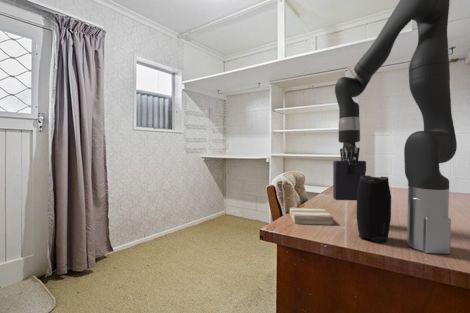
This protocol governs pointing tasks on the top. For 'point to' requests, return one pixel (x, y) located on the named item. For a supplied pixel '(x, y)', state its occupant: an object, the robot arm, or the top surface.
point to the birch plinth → (311, 216)
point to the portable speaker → (373, 208)
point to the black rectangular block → (346, 180)
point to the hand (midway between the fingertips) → (349, 174)
